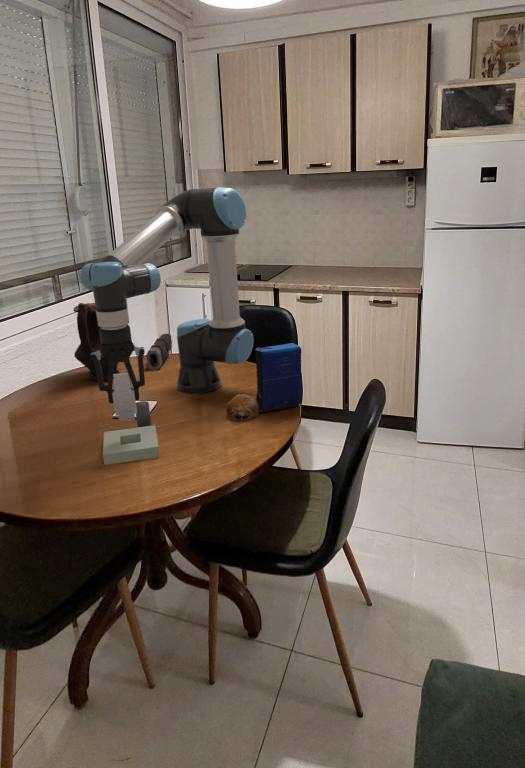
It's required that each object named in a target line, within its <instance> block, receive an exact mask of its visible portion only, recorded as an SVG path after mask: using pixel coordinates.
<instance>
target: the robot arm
mask: <svg viewBox="0 0 525 768" xmlns="http://www.w3.org/2000/svg"><path fill="white" fill-rule="evenodd" d="M244 201H245V200H244V198H243V197H242V196H241V195H240V193H239V192H238V190H236V189H235V188H230V187H222V186H221V187H220V186H219V187H213V188H212V187H210V188H207V187H206V188H190V189H187V190H184V191H182V192H181V193H178V194H177V195H175V196H174V197H172V198H171V199H169V200H168V201H166V202H165V203H163V204H162V205H161V206H160V207H159V208H158V209H157V210H156V214H155V216H154V217H152V218H151V219H150V220H149V221H147V222H146V223H145V224H144V225H143V226H141V227H140V228H139V229H138V230H137V231H135V232H134V233H133V234H132V235H130V236H129V237H128V238H127V239H125V240H124V241H123V242H122V243H121V244H119V245H118V246H117V247H116V248H115V249H113V251H111V252H109V254H107V255H106V256H105V257H104V258H102V259H101V260H100V261H99V262H90V263H89V262H88V263H86V264H85V265H84V266H82V268H81V270H80V281H81V284H82V286H84V288H86V290H89V291H92V293H93V300H94V303H95V306H96V314H97V320H98V326H99V327H101V328H100V329H99V333H100V340H101V347H100V350H99V351H97V352H92V353H91V359H92V360H93V362H94V364H95V369H96V374H97V379H98V381H97V384H98V388H99V391H101V392H106V393H107V397H108V398H107V399H108V402H109V404H113V408H114V413H115V415H114V416H115V417H118V410H117V403H116V396H115V389H114V388H113V385H114V382H113V371H114V363H118V362H119V363H123V364H124V366H125V368H126V371H127V372H128V374H129V377H130V383H131V385H132V386H131V394H132V401H133V409H134V414H135V415H136V413H137V408H136V403H137V402H136V401H139V400H140V399H141V398H140V397H141V396H140V390H139V389H140V388H141V387H144V386H145V384H146V382H145V381H146V379H145V370H144V369H145V367H144V355H145V348H144V346H141V347H140V346H135V344H134V343H133V340H132V334H131V331H132V330H131V326H130V325H129V324H130V316H129V309H128V301H127V300H128V299H130V298H134V297H138V296H142V295H148V294H150V293H153V292H155V291H157V290H158V289H159V288H160V286H161V283H162V280H161V278H162V277H161V274H160V271H159V269H158V268H157V266H156V265H154V264H152V263H144V262H145V261H146V260H147V259H148V258H149V257H150V256H152V255H153V254H154V253H156V251H157V250H158V249H160V248H161V247H162V246H163V245H165V243H167V242H168V241H169V240H170V239H171V238H172V237H177V236H180V235H181V234H182V233H183V232H185V231H188V230H193V229H196V230H200V237H201V238H202V239H203V240H204V241H205V242H206V248H207V249H206V252H207V261H208V262H207V264H208V273H209V275H208V276H209V288H210V299H211V309H212V319H209V318H198V319H191V320H187V321H184V322H182V323H180V324H179V325H178V326H177V327H176V340H177V347H178V349H177V350H178V354H179V355H178V357H179V365H180V367H179V372H178V375H177V381H176V387H177V390H178V391H179V392H181V393H185V394H189V395H191V394H192V395H194V394H195V395H196V394H197V395H198V394H206V393H210V392H213V391H217V390H218V389H219V388H220V387H221V386H222V379H221V376H220V374H219V371H218V368H217V367H216V364H215V362H217V363H221V364H222V363H223V364H227V365H241V364H243V363H245V362H246V361H247V360H248V359H249V357H250V355H251V353H252V351H253V348H254V341H255V340H254V335H253V332H252V331H251V330H250V329H248V328H246V321H245V320H244V319H243V318H242V317H241V316H240V315H241V313H240V299H239V287H238V284H239V283H238V270H237V269H238V267H237V255H236V254H237V253H236V238H238V237H239V235H240V229H241V228H242V227H243V226H244V225H245V223H246V222H245V221H246V219H247V207H246V204H245V202H244ZM133 353H135V355H136V357H137V363H138V364H137V366H138V373H139V375H138V376H139V380H138V381H137V377H136V374H135V373H134V370H133V366H132V363H131V361H130V358H131V356H132V355H133ZM101 354H102V355H103V356H104V357H105V358H106V359H107V360H108V361H109V371H108V381H107V384H105V381H104V380H103V374H102V369H101V364H100V359H101ZM119 363H118V364H119Z"/></svg>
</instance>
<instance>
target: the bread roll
mask: <svg viewBox="0 0 525 768" xmlns="http://www.w3.org/2000/svg"><path fill="white" fill-rule="evenodd" d="M259 413H260V412H259V404H258V402H257V401H256V398H254V396H253V397H252V395H249V394H243V393H241V394H239V393H238V394H236V395H235V396H234V397H232V398H231V400H229V401H228V403H227V404H226V415H227V417H228V418H229V419H231V420H233V421H241V422H242V421H248V420H252V419H254V418H256V417H257V416H259Z"/></svg>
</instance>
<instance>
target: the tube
mask: <svg viewBox="0 0 525 768" xmlns="http://www.w3.org/2000/svg"><path fill="white" fill-rule="evenodd" d="M172 340H173V339H172V335H171V334H170V333H163V334H161V335H160V336H159V337H158V338H157V339H156V340H155V341H154V343H153V344H152V345H151V347H150V348H149V349H148V351H147V353H146V354H145V356H146V365H147V368H148V369H149V370H150V371H152V372H153V371H160V368H161V367H162V365H163V364H164V362H165V361H166V360H165V359H167V358H168V356H169V355H170V351H171V349H172V347H173V341H172Z"/></svg>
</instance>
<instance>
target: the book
mask: <svg viewBox="0 0 525 768" xmlns="http://www.w3.org/2000/svg"><path fill="white" fill-rule="evenodd" d="M254 350H255V363H256V365H255V367H256V380H257V381H256V388H257V392H256V396H255V400H256V401H257V402H258V404H259V413H265V412H266V413H267V412H272V411H274V412H275V411H279V410H284V409H288V408H293V407H296V406H298V405H302V404H301V403H302V348H301V346H299V345H297V343H293V342H292V343H284V344H278V345H272V346H264V347H263V346H262V347H257V348H255V349H254Z"/></svg>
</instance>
